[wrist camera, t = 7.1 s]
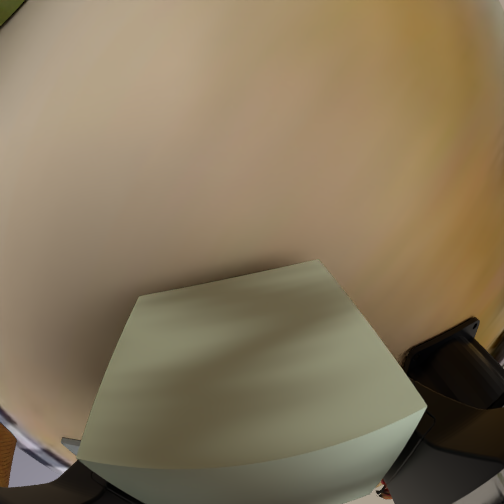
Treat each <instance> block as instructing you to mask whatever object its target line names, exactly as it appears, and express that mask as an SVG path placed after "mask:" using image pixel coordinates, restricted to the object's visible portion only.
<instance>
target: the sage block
mask: <svg viewBox="0 0 504 504" xmlns="http://www.w3.org/2000/svg"><path fill="white" fill-rule="evenodd" d="M426 408H427V405H426V403H425V402H424V400H423V399H422V397H421V396H420V394H419V393H418V391H417V390H416V388H415V387H414V385H413V384H412V382H411V381H410V379H409V378H408V377H407V375H406V374H405V372H404V371H403V369H402V368H401V367H400V365H399V364H398V362H397V361H396V360H395V358H394V357H393V355H392V354H391V353H390V351H389V350H388V348H387V347H386V346H385V344H384V343H383V342H382V340H381V339H380V337H379V336H378V335H377V333H376V332H375V331H374V329H373V328H372V327H371V325H370V324H369V323H368V321H367V320H366V319H365V317H364V316H363V315H362V313H361V312H360V311H359V310H358V308H357V307H356V306H355V304H354V303H353V302H352V300H351V299H350V298H349V297H348V295H347V294H346V293H345V292H344V290H343V289H342V288H341V286H340V285H339V284H338V283H337V281H336V280H335V279H334V278H333V276H332V275H331V274H330V273H329V271H328V270H327V269H326V268H325V266H324V265H323V264H322V263H321V262H320V260H319V259H317V260H312V261H308V262H304V263H299V264H295V265H290V266H285V267H281V268H276V269H272V270H267V271H262V272H258V273H253V274H248V275H244V276H239V277H234V278H229V279H224V280H219V281H215V282H210V283H205V284H200V285H195V286H190V287H185V288H179V289H174V290H169V291H164V292H159V293H153V294H148V295H143V296H139V297H138V300H137V302H136V304H135V306H134V308H133V310H132V312H131V314H130V316H129V319H128V321H127V323H126V325H125V327H124V330H123V332H122V334H121V336H120V339H119V341H118V343H117V345H116V348H115V350H114V352H113V355H112V357H111V360H110V362H109V365H108V367H107V369H106V372H105V374H104V377H103V380H102V382H101V385H100V387H99V390H98V393H97V395H96V398H95V401H94V404H93V407H92V409H91V412H90V415H89V418H88V421H87V424H86V427H85V430H84V433H83V436H82V440H81V443H80V446H79V450H78V453H77V457H76V459H78V460H79V461H80V462H81V463H83V464H84V465H85V466H87V467H88V468H89V469H91V470H92V471H93V472H95V473H96V474H98V475H99V476H101V477H102V478H103V479H105V480H106V481H108V482H109V483H111V484H113V485H114V486H116V487H117V488H119V489H120V490H122V491H124V492H125V493H127V494H129V495H131V496H132V497H134V498H136V499H138V500H139V501H141V502H143V503H145V504H343V503H347V502H350V501H352V500H355V499H358V498H361V497H364V496H366V495H369V494H370V493H371V492H372V491H373V490H374V489H375V487H376V486H377V485H378V484H379V482H380V481H381V480H382V478H383V477H384V476H385V474H386V473H387V472H388V470H389V469H390V467H391V466H392V465H393V463H394V462H395V460H396V459H397V457H398V456H399V454H400V453H401V451H402V450H403V448H404V447H405V445H406V443H407V442H408V440H409V439H410V437H411V435H412V434H413V432H414V430H415V428H416V427H417V425H418V423H419V421H420V419H421V418H422V416H423V414H424V412H425V410H426Z"/></svg>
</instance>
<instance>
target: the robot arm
mask: <svg viewBox="0 0 504 504" xmlns="http://www.w3.org/2000/svg"><path fill="white" fill-rule="evenodd" d="M479 322H480V321H479V320H478V319H477V318H476V317H474V318H472V319H470V320H468V321H467V322H465V323H463V324H461V325H459V326H458V327H456V328H454V329H452V330H450V331H448V332H446V333H444V334H442V335H440V336H438V337H436V338H434V339H432V340H430V341H428V342H426V343H424V344H422V345H420V346H417V347H415V348H414V349H412V350H411V351H410V352H409V354H408V356H407V359H406V363H405V367H404V370H403V371H404V372H405V374H406V375H407V377H408V378H409V379H410V381H411V382H412V384H413V385H414V387H415V388H416V390H417V391H418V393H419V394H420V396H421V397H422V399H423V400H424V402H425V403H426V405H427V408H426V410H425V412H424V414H423V416H422V418H421V419H420V421H419V423H418V425H417V427H416V428H415V430H414V432H413V434H412V435H411V437H410V439H409V440H408V442H407V443H406V445H405V447H404V448H403V450H402V451H401V453H400V454H399V456H398V457H397V459H396V460H395V462H394V463H393V465H392V466H391V467H390V469H389V470H388V472H387V473H386V474H385V476H384V477H383V479H384V481H385V483H386V484H387V488H388V490H389V492H390V494H391V496H392V499H393V501H394V503H395V504H504V369H503V368H502V366H501V365H500V364H499V363H498V362H497V361H496V360H495V359H494V358H493V357H492V356H491V355H490V354H489V353H488V352H487V351H486V350H485V349H484V348H483V347H482V346H481V345H480V344H479V343H478V342H477V341H476V340H475V339H474V337H475V334H476V332H477V329H478V326H479ZM0 504H145V503H143V502H141V501H139V500H138V499H136V498H134V497H132V496H131V495H129V494H127V493H125V492H124V491H122V490H120V489H119V488H117V487H116V486H114V485H113V484H111V483H109V482H108V481H106V480H105V479H103V478H102V477H101V476H99V475H98V474H96V473H95V472H93V471H92V470H91V469H89V468H88V467H87V466H85V465H84V464H83V463H81V462H80V461H79V460H77V461H76V462H75V463H74V464H73V465H72V466H71V467H70V468H69V469H68V470H66V471H65V472H64V473H63V474H62V475H61V476H60V477H59V478H58V479H56V480H54V481H52V482H50V483H46V484H39V485H31V486H23V487H11V488H6V487H0Z"/></svg>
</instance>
